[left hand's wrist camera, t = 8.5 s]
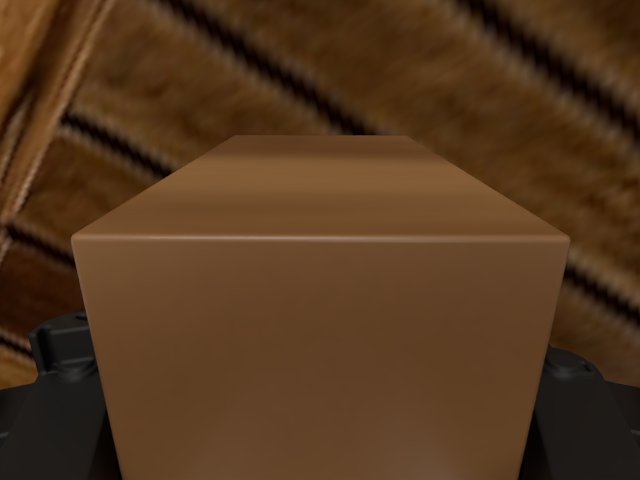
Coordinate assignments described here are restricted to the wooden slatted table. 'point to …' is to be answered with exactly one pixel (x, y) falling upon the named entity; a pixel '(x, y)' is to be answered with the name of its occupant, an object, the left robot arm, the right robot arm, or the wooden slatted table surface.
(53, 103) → the wooden slatted table surface
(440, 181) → the bar
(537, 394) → the left robot arm
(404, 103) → the wooden slatted table surface
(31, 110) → the wooden slatted table surface
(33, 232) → the wooden slatted table surface
